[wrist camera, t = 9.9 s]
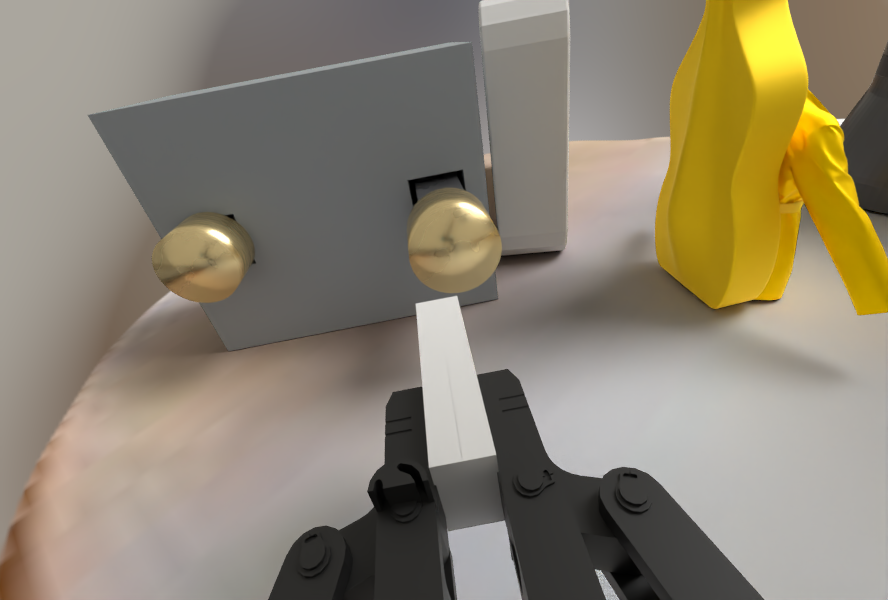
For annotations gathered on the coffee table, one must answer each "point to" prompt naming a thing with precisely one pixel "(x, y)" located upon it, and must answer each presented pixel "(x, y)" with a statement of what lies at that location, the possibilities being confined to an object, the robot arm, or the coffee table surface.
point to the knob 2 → (451, 236)
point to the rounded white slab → (528, 119)
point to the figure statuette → (757, 167)
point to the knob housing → (311, 182)
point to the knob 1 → (204, 257)
